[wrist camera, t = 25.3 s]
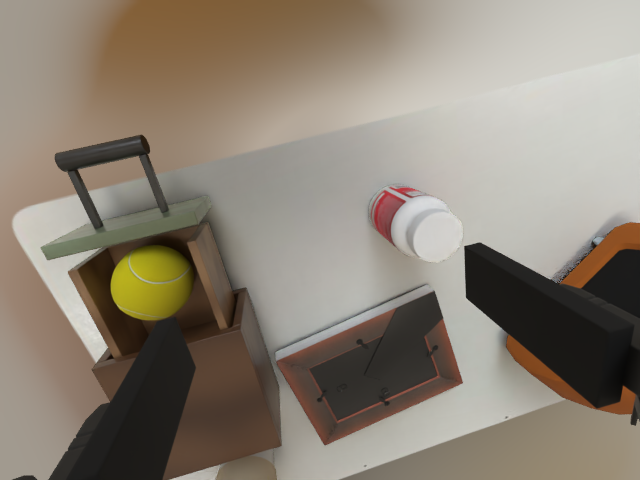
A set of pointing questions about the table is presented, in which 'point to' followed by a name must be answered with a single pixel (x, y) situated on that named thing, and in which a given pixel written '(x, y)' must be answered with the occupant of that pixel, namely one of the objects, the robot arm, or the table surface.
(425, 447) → the table surface
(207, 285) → the drawer
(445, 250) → the pill bottle
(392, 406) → the picture frame
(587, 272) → the alarm clock
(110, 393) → the cabinet
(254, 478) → the coffee cup
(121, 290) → the tennis ball
